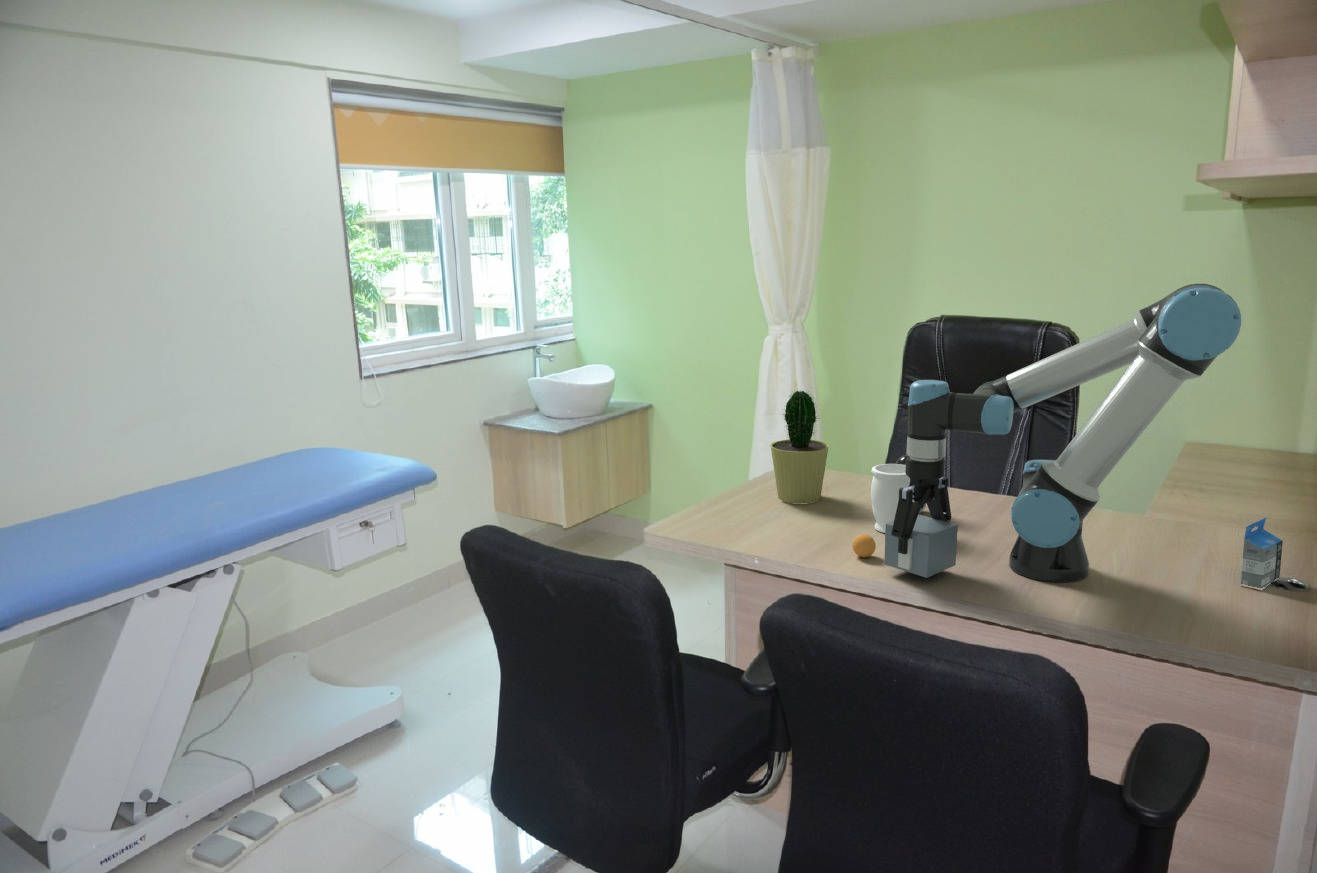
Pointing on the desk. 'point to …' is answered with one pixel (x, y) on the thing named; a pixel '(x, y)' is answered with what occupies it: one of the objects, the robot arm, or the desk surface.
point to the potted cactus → (799, 453)
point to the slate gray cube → (925, 546)
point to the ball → (864, 545)
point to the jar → (887, 492)
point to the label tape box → (1260, 556)
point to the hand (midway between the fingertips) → (920, 561)
